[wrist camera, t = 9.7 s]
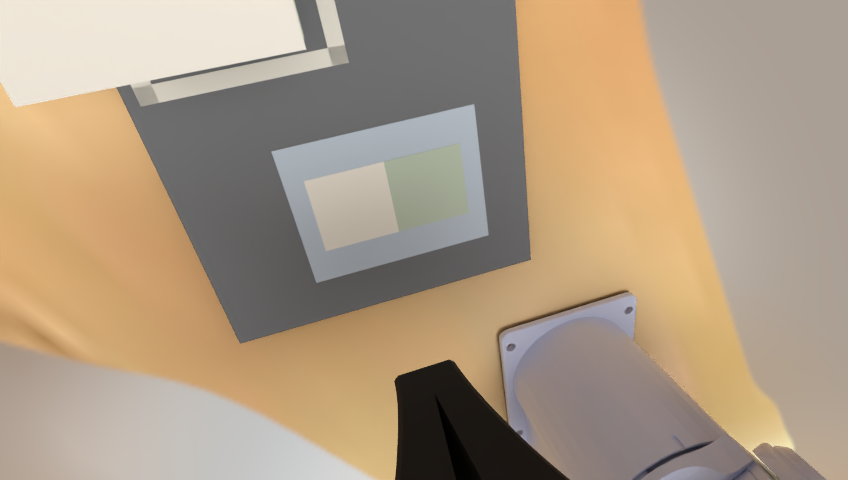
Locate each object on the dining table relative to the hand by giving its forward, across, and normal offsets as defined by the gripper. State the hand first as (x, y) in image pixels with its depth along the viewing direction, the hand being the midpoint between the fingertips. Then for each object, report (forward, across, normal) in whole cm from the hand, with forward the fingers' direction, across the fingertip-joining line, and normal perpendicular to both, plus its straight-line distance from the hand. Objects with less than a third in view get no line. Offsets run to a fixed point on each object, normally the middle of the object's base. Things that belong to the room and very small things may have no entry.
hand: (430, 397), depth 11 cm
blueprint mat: (+10, 0, -6) cm, 12 cm away
